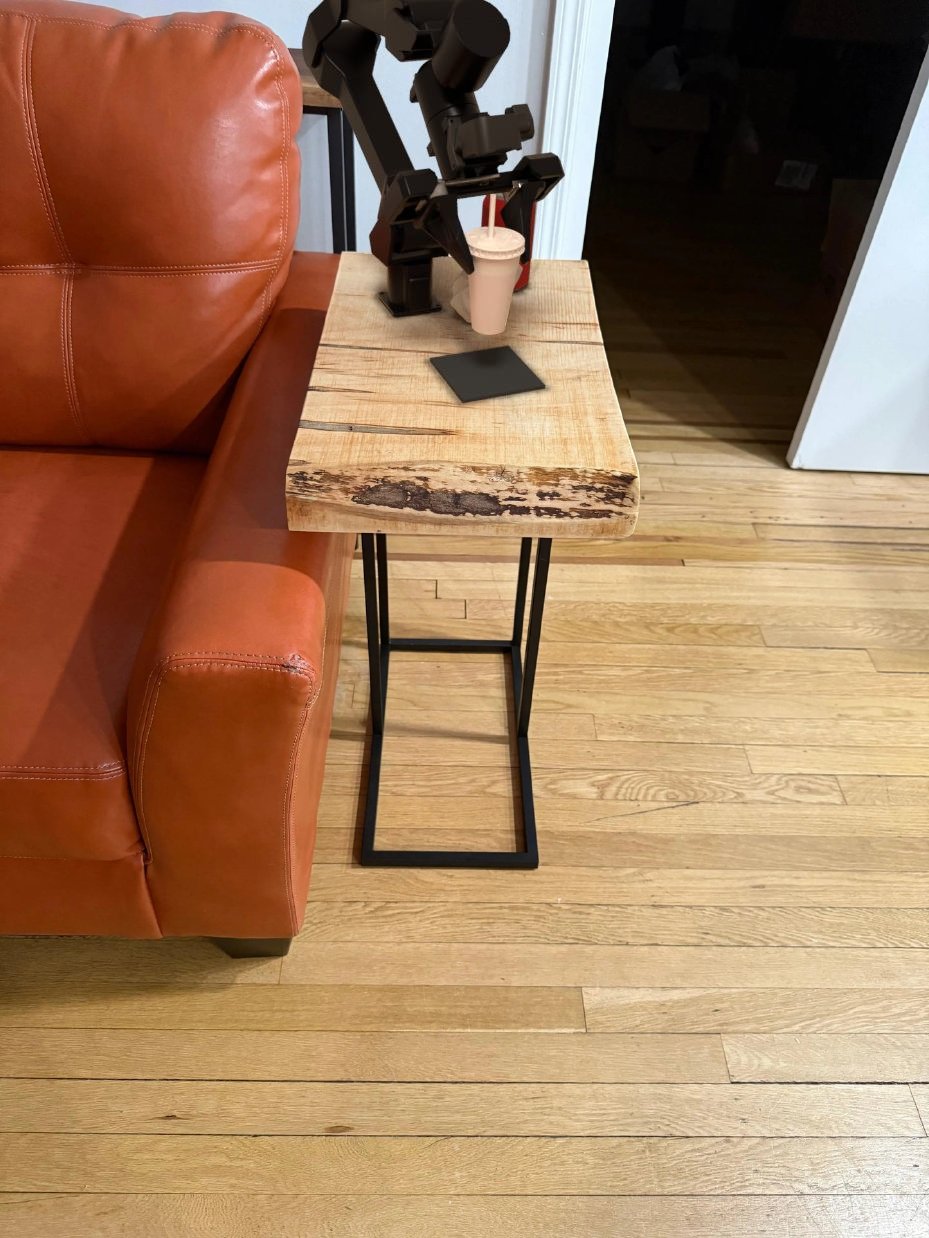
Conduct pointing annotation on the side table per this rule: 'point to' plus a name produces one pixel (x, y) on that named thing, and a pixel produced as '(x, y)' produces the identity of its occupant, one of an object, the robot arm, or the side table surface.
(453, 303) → the tape dispenser
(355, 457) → the side table surface
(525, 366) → the coaster
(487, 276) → the smoothie
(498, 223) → the beverage can
